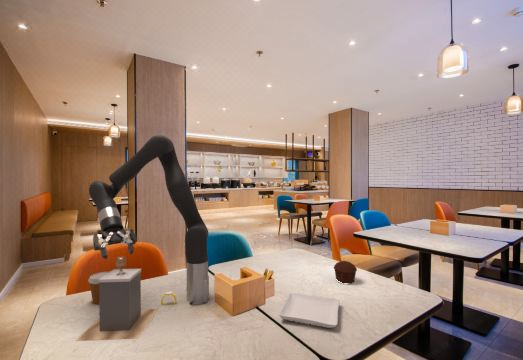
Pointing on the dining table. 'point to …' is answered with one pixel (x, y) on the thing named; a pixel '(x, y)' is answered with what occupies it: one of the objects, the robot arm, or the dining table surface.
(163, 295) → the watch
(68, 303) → the dining table surface
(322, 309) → the salad plate
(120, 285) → the block
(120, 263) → the plunger
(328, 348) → the dining table surface
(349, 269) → the muffin
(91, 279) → the disposable coffee cup
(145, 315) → the oak board
